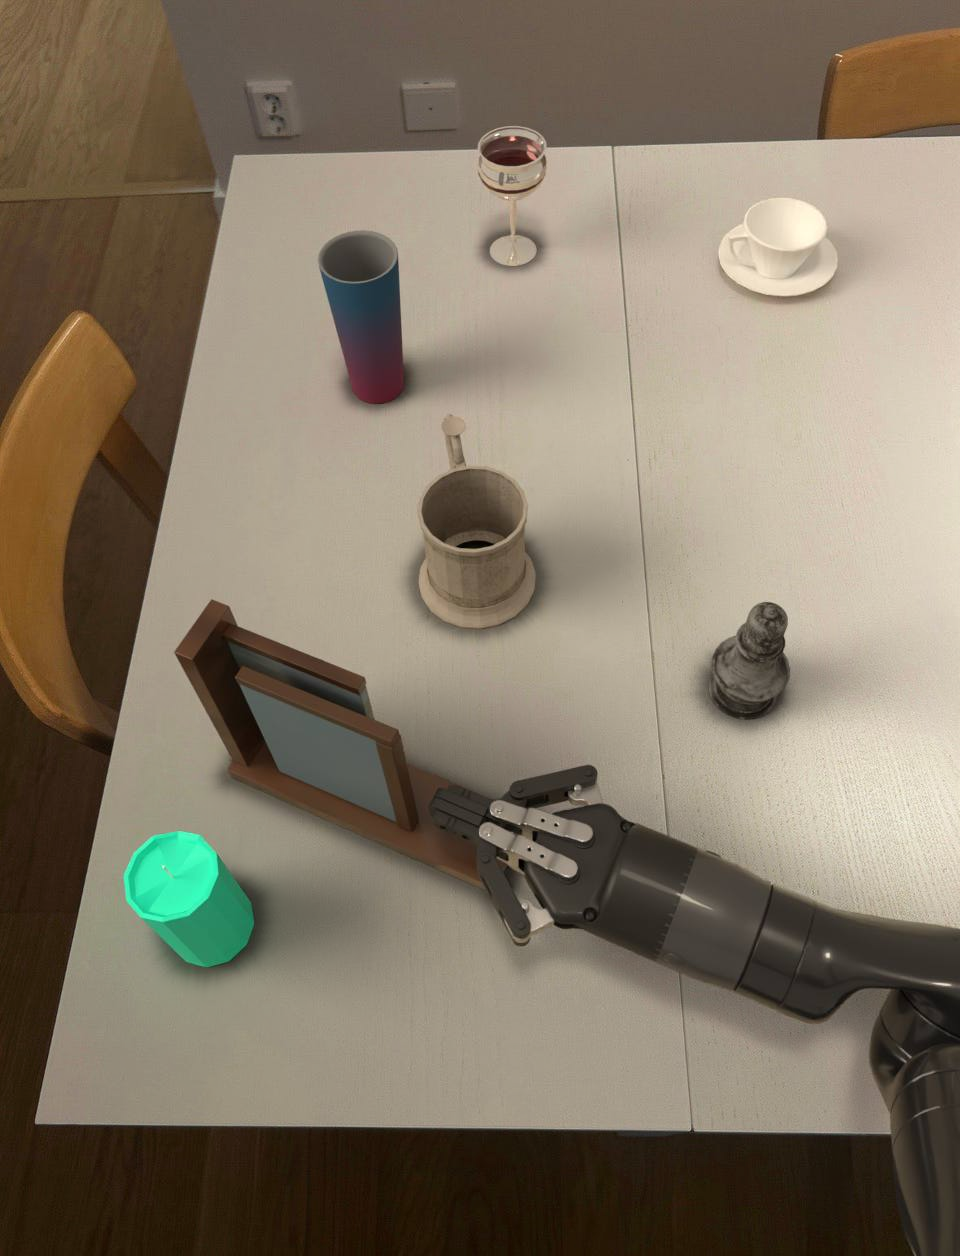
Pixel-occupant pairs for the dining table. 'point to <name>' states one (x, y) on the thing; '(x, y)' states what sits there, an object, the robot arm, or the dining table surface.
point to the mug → (466, 511)
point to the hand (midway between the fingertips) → (434, 801)
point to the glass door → (332, 747)
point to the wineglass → (512, 182)
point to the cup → (366, 311)
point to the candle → (189, 898)
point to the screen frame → (211, 671)
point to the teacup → (780, 249)
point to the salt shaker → (751, 664)
